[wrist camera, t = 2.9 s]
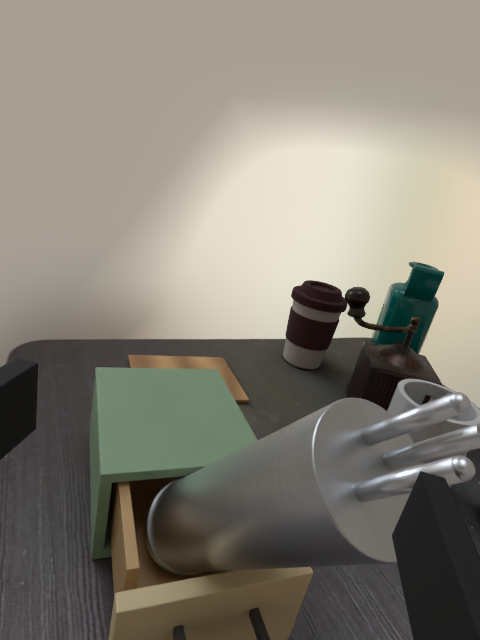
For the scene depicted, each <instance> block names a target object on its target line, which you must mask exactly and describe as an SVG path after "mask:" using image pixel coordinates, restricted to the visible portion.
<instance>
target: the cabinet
mask: <svg viewBox="0 0 480 640" xmlns="http://www.w3.org/2000/svg"><path fill="white" fill-rule="evenodd" d="M256 441H258V440H257V438H256V437H255V435H254V433H253V431H252V429H251V428H250V426H249V424H248V422H247V420H246V419H245V417H244V415H243V413H242V412H241V410H240V408H239V406H238V404H237V403H236V401H235V399H234V397H233V395H232V394H231V392H230V390H229V388H228V387H227V385H226V383H225V381H224V379H223V378H222V376H221V374H220V372H219V370H218V369H165V368H98V367H96V369H95V379H94V391H93V402H92V413H91V424H90V503H91V559H92V560H94V559H101V558H107V557H112V554H111V538H110V522H109V504H110V495H111V487H112V483H114V482H125V481H137V480H148V479H159V478H171V477H182V476H188V475H190V474H192V473H194V472H196V471H198V470H200V469H202V468H204V467H206V466H208V465H210V464H212V463H214V462H216V461H218V460H220V459H222V458H224V457H226V456H228V455H230V454H232V453H234V452H236V451H238V450H240V449H242V448H244V447H246V446H248V445H250V444H252V443H254V442H256Z"/></svg>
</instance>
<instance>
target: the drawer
mask: <svg viewBox="0 0 480 640" xmlns="http://www.w3.org/2000/svg"><path fill="white" fill-rule="evenodd" d="M182 477H185V476H182ZM177 478H180V477H171V478H159V479H148V480H137V481H125V482H114V483H112V487H111V495H110V504H109V522H110V538H111V554H112V570H113V586H114V603H113V611H112V618H111V625H110V632H109V639H108V640H287V639H288V638H289V636H290V633H291V631H292V628H293V625H294V623H295V620H296V617H297V615H298V612H299V609H300V607H301V604H302V601H303V599H304V596H305V594H306V591H307V588H308V586H309V583H310V580H311V578H312V575H313V571H312V569H311V567H299V568H277V569H254V570H232V571H210V572H202V573H199V574H196V575H190V576H179V575H174V574H171V573H169V572H167V571H165V570H163V569H162V568H161V567H160V566H158V565H157V563H156V562H155V561H154V560H153V558H152V557H151V555H150V553H149V551H148V549H147V546H146V543H145V539H144V517H145V513H146V510H147V507H148V505H149V503H150V501H151V499H152V498H153V496H154V495H155V493H156V492H157V491H158V490H159V489H160V488H161V487H162V486H164V485H165V484H167V483H168V482H170V481H172V480H174V479H177Z"/></svg>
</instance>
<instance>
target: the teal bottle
mask: <svg viewBox="0 0 480 640" xmlns="http://www.w3.org/2000/svg"><path fill="white" fill-rule="evenodd" d="M409 265H410V266H411V267H413V268H412V271H411V273H410V276H409V279H408V281H407V282H406V283H394V284H392V285H391V286H390V288H389V290H388V292H387V295H386V298H385V301H384V304H383V307H382V309H381V312H380V315H379V318H378V321H377V324H376V325H383V326H392V327H408V325H409V324H411V319H412V318H413V317H418V318H419V319H420V323H419V324H418V325H417V327H418V331H417V332H414V335H413V337H412V340H411V342H410V345H409V348H411V349H412V350H413V351H414V352H415V353H416V354H419V353H420V351H421V348H422V346H423V343H424V341H425V338H426V336H427V333H428V331H429V328H430V326H431V323H432V321H433V318H434V316H435V313H436V311H437V309H438V300H437V298H436V297H435V294H436V292H437V290H438V287H439V285H440V283H441V280H442V278H443V276H444V272H442V271H439V270H438V269H437V268H434V267H432V266H429V265H426V264H422V263H417V262H410V263H409ZM407 333H408V332H400V333H396V332H386V331H377V330H374V332H373V335H372V338H371V341H370V342H372V343H376V344H396V341H397V340H401V341H402V345H403V343H404V341H405V338H406V335H407Z"/></svg>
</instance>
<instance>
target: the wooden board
mask: <svg viewBox="0 0 480 640" xmlns="http://www.w3.org/2000/svg"><path fill="white" fill-rule="evenodd" d="M128 360H129V366H130V368H165V369H218V370H219V372H220V374H221V376H222V378H223V379H224V381H225V383H226V385H227V387H228V388H229V390H230V392H231V394H232V395H233V397H234V399H235V401H236V403H248V402H249V399H248V397H247V396H246V394H245V392H244V391H243V389H242V387H241V386H240V384H239V382H238V381H237V379H236V378H235V376H234V374H233V373H232V371H231V369H230V368H229V366H228V364H227V363H226V361H225V360H224V358H223V357H187V356H149V355H128Z"/></svg>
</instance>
